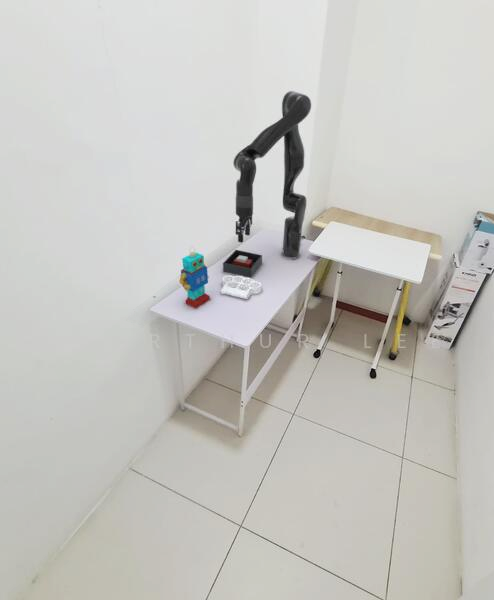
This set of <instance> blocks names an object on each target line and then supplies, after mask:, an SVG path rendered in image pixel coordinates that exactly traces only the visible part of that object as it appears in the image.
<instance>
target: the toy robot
mask: <svg viewBox="0 0 494 600" xmlns="http://www.w3.org/2000/svg"><path fill="white" fill-rule="evenodd" d="M192 248H193V246H191V247H190V248H189V250H191V249H192ZM195 250H196V249H194V251H189V254H188V255H186V256H184V257H182V258H181V262H182V269H181V270H180V274H179V276H180V278H179V284H180V285H182V288H183V289H184V291H186V292H187V297H186V299H185V304H186V305H189V306H190V307H192V308H194V309H198V308H199V307H201V306H202V305H204V304H205V303H206V302H208V301H209V300H211V298H210V295H209V294H207V293H206V289H205V287H206V286H205V285H207V284H208V283H209V278H210V277H209V275H208V266H206V264H205V258H204V254H201V253H199V252H196V251H195Z"/></svg>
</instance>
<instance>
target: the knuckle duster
mask: <svg viewBox="0 0 494 600" xmlns="http://www.w3.org/2000/svg"><path fill="white" fill-rule="evenodd" d="M261 291H262V283H261V281H256V280H254V279H253V278H252V277H251V278H250V277H245V276H241V275H231V274H228V275H224V276H223V277H222V288H221V291H220V293H221V294H222V295H223V294H224V295H228V296H232V297H236V298H240V299H244V300H248V299H250V296H252V295H255V294H259V293H260V292H261Z"/></svg>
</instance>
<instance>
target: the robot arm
mask: <svg viewBox="0 0 494 600" xmlns="http://www.w3.org/2000/svg"><path fill="white" fill-rule="evenodd" d="M311 109H312V101H311V98H310V97H309V96H308V95H306V94H304V93H302V92H298V91H294V90H288V91H286V93H285V94H284V95H283V97H282V101H281V114H282V117H281V118H280V119H279V120H277V121H276V122H274V123H273V124H271V125H269V126H267V127H266V128H264V129H263V130H262V131H261V132H260V133H259V134H258V135H257V136H256V137H255V138H254V140H253V141H251V143H250V144H248V145H246V146H245V147H244V148H243V149H241V150H240V151H239V152H238V153H237V154H236V155H235V156H234V159H233V161H232V162H233V168H234V169H235V170H236V171H238V172H239V173H240V174H239V175H240V176H239V178H238V179H237V180H236V183H235V194H236V195H235V215H236V216H238V220H236V221H235V235H237V242H238V243H241V244H242V243H243V242H244V235H245V236H250V235H251V227H252V225H253V215H254V186H253V185H254V182H255V179H256V174H257V163H256V160H257V159H262V158H264V157H265V156H266V155H267V154H268V153H269V152H270V151H271V150H272V149H273V147H274V146H275V145H276V144H277V143H278V142H279V141H280V140H281V139H282V138H283V190H282V191H283V192H282V207H283V209H284V210H285V211H287V212H290V213H292V214H293V213H294V215H293V216H288V217H285V218H284V225H283V239H282V247H281V256H283V257H284V258H286V259H290V260H297V259H298V258H300V251H301V250H300V249H301V243H302V238H304V239H305V238H306V236H305V235H303V234H302V233H303V224H304V221H305V216H306V210H307V203H308V202H307V197H306V196H305V195H304V194H301V193H297V192H295V190H294V188H295V183H296V180H297V179H298V178H299V176H300V175H301V173H302V171H303V170H304V169H305V158H306V157H305V156H306V152H305V146H304V142H303V140H302V139H303V138H302V137H301V136H302V135H301V133H300V128H299V124H301V123H302V122H303V121H304V120H305V119H306V118H307V117H308V116H309V114H310V113H311Z"/></svg>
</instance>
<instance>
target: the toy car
mask: <svg viewBox="0 0 494 600" xmlns="http://www.w3.org/2000/svg"><path fill="white" fill-rule="evenodd" d="M234 265H236V266H241V267H246V268H251V267H252V260H250V259H248V257H246V256H241V255H239V256H238V257H237V258H236V259H235V260H234Z"/></svg>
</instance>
